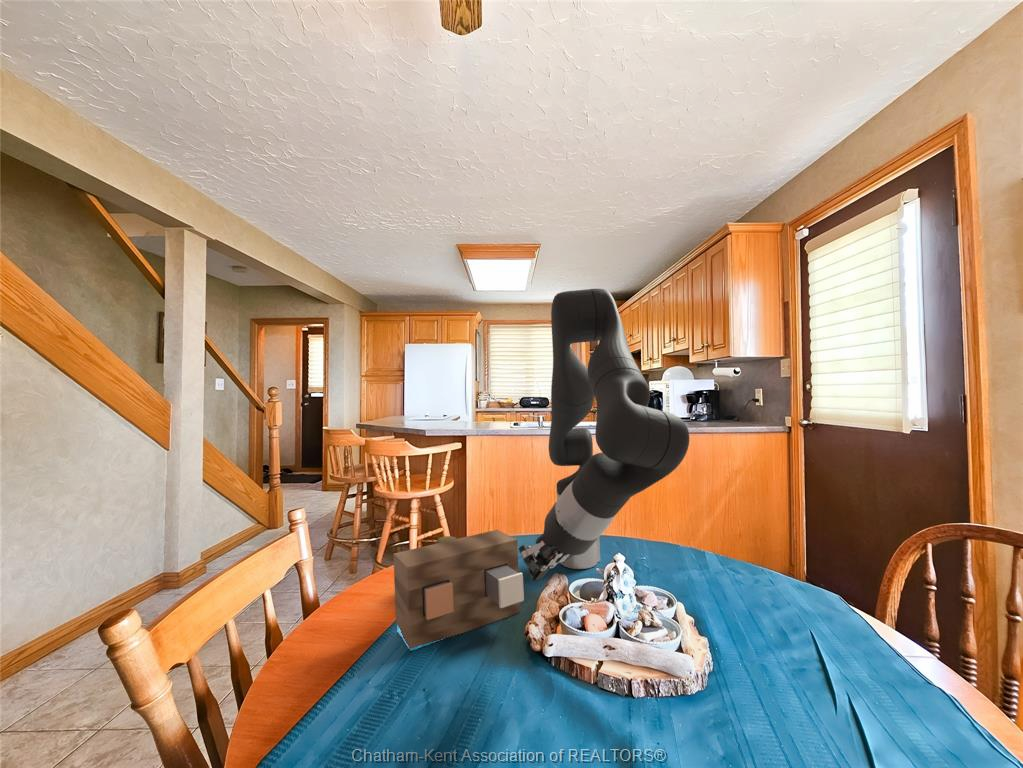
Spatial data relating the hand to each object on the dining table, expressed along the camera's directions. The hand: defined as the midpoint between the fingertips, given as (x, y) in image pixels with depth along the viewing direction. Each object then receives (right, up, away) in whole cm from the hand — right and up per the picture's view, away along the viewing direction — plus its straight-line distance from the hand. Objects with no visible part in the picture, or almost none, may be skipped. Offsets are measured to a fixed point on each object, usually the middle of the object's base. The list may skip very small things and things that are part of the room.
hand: (534, 573), depth 69 cm
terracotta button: (-18, -9, +7) cm, 21 cm away
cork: (-18, -15, +25) cm, 34 cm away
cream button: (-6, -8, +9) cm, 14 cm away
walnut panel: (-13, -14, +11) cm, 22 cm away
